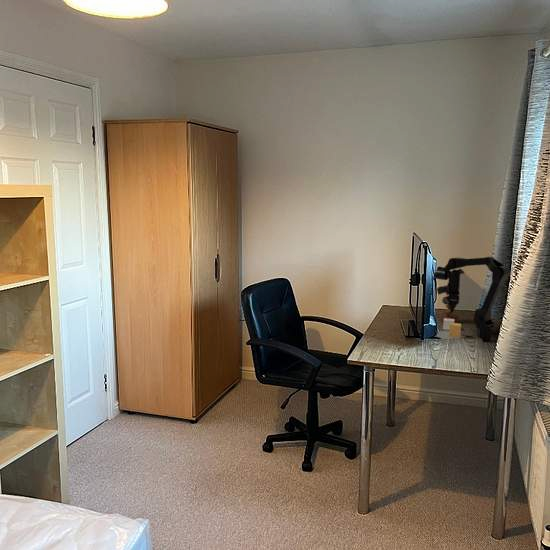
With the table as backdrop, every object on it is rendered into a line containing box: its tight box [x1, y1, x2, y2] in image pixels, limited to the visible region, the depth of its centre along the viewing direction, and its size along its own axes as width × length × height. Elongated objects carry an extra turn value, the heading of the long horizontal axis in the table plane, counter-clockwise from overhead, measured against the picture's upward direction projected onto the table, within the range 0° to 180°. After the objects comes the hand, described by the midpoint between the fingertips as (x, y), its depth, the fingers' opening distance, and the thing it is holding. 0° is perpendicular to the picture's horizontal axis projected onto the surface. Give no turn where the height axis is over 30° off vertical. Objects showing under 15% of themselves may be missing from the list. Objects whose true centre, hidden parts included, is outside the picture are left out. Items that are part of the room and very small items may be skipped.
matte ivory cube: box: [442, 318, 454, 331], centre depth 302 cm, size 5×5×6 cm
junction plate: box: [435, 330, 466, 340], centre depth 288 cm, size 14×14×5 cm
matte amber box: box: [448, 322, 462, 339], centre depth 286 cm, size 5×5×6 cm
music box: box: [439, 292, 460, 324], centre depth 324 cm, size 15×11×20 cm
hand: (452, 310), depth 296 cm, fingers open, 9 cm apart
